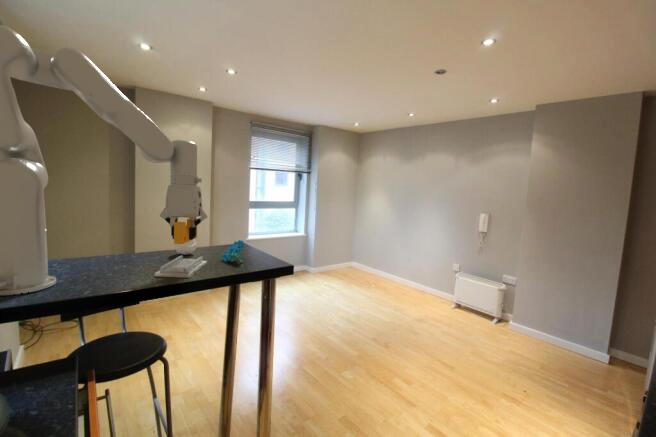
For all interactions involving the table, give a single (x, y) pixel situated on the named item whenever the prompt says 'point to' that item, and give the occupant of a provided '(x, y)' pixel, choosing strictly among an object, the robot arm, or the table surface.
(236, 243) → the blue lumpy piece
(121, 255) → the table surface
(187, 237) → the pipe clamp
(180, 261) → the rail plate
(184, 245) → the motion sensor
